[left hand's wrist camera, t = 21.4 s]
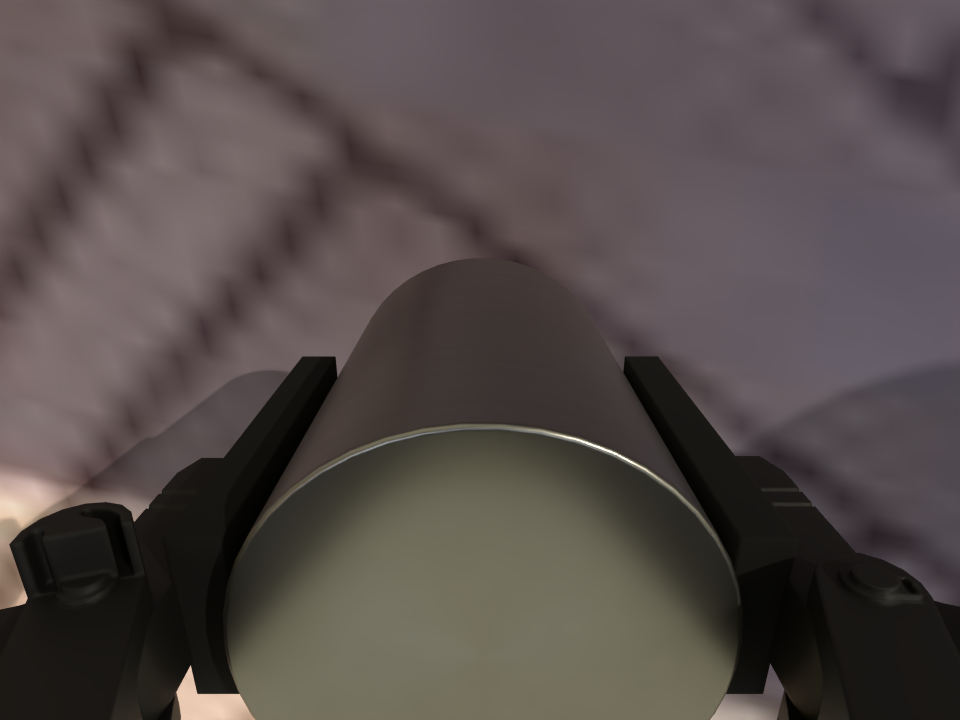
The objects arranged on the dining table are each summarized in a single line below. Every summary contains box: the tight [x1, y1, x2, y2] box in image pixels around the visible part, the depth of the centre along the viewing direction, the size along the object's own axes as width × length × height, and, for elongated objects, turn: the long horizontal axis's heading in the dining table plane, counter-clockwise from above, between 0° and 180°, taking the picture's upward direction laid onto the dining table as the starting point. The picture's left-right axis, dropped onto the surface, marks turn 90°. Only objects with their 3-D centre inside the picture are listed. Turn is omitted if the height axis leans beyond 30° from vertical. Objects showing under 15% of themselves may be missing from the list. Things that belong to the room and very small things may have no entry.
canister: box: [223, 258, 743, 720], centre depth 12 cm, size 7×7×9 cm
